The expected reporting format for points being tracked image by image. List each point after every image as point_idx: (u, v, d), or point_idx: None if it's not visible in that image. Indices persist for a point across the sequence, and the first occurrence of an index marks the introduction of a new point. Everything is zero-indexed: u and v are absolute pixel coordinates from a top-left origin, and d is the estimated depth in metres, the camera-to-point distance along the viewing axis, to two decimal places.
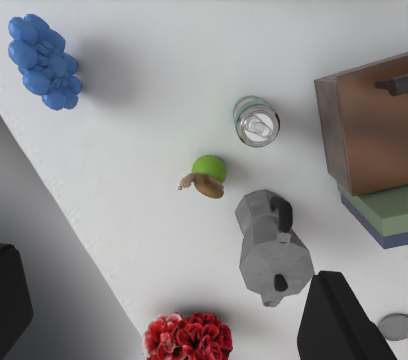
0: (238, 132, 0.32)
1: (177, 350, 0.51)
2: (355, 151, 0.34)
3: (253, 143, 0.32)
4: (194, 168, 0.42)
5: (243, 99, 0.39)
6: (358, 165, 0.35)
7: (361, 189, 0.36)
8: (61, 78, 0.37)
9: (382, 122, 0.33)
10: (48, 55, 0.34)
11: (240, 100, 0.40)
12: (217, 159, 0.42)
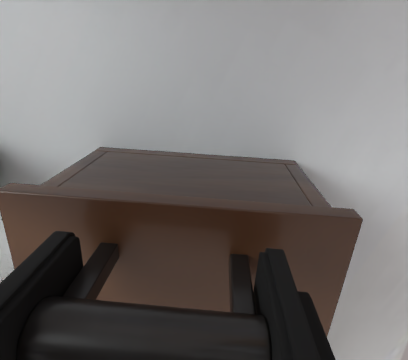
0: None
1: None
2: None
3: None
4: None
5: None
6: None
7: None
8: None
9: None
10: None
11: None
12: None
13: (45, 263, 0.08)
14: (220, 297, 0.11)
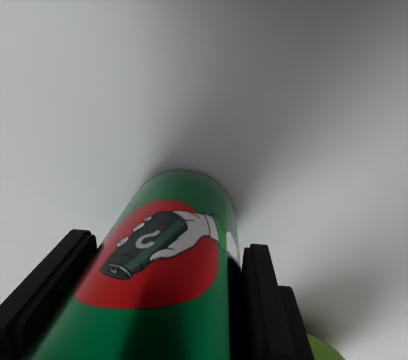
0: None
1: None
2: None
3: None
4: None
5: None
6: None
7: None
8: None
9: None
10: None
11: None
12: None
13: (65, 261, 0.08)
14: None
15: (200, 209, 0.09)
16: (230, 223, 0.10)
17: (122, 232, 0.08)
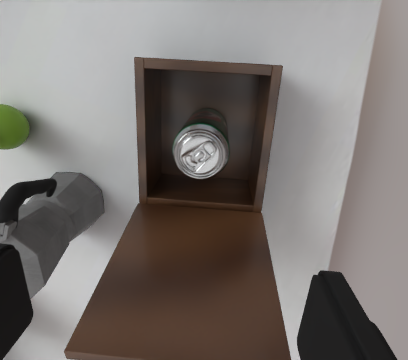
0: None
1: None
2: None
3: (218, 168, 0.24)
4: None
5: None
6: None
7: None
8: None
9: None
10: None
11: None
12: (12, 113, 0.33)
13: None
14: None
15: (215, 114, 0.30)
16: (225, 121, 0.31)
17: (194, 115, 0.28)
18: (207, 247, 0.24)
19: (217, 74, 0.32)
